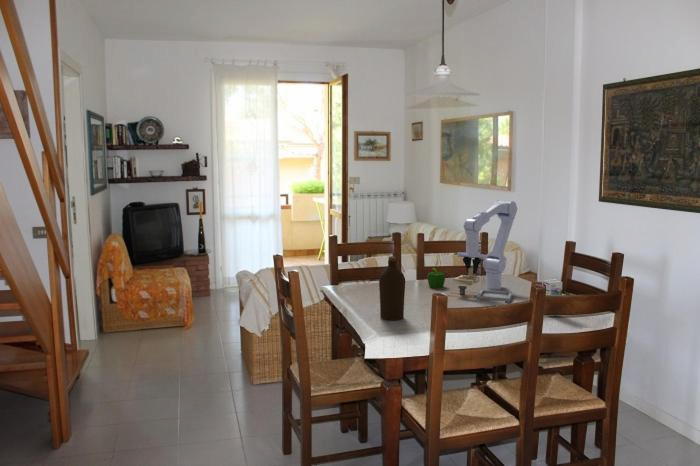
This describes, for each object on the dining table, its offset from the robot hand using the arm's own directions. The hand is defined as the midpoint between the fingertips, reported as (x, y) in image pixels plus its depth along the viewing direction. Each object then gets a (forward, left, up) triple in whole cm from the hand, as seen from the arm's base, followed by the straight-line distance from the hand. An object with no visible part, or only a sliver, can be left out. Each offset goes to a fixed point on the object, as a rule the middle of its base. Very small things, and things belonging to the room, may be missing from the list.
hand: (471, 273), depth 290 cm
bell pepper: (-8, -18, -11) cm, 23 cm away
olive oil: (+51, -24, -11) cm, 57 cm away
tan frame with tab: (+4, -1, -3) cm, 5 cm away
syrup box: (+26, +37, -11) cm, 46 cm away
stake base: (+4, -3, -10) cm, 11 cm away
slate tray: (+3, +11, -10) cm, 16 cm away
